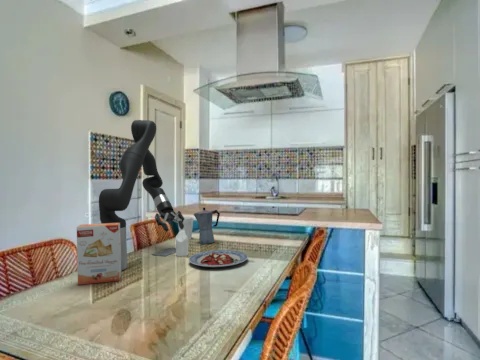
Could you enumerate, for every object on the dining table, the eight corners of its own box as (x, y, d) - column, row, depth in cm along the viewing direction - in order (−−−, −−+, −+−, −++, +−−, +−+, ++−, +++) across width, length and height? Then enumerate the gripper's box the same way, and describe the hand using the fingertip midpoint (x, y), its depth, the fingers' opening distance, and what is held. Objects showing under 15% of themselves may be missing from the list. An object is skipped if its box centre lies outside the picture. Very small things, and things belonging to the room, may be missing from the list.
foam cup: (192, 240, 178) (191, 218, 178) (176, 241, 178) (175, 218, 178) (194, 237, 188) (194, 216, 187) (180, 237, 188) (179, 216, 188)
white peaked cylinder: (174, 231, 143) (176, 229, 149) (175, 256, 143) (177, 253, 149) (187, 230, 143) (188, 228, 149) (187, 256, 143) (189, 253, 149)
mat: (165, 256, 144) (165, 255, 144) (152, 255, 147) (152, 254, 147) (182, 249, 157) (182, 249, 157) (169, 248, 160) (169, 247, 160)
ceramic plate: (176, 266, 128) (176, 259, 128) (210, 252, 151) (209, 246, 151) (229, 274, 116) (229, 267, 116) (257, 257, 139) (257, 251, 138)
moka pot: (191, 242, 174) (190, 207, 173) (217, 239, 180) (216, 205, 180) (196, 245, 165) (195, 208, 165) (223, 242, 172) (222, 207, 171)
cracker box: (77, 285, 107) (75, 226, 107) (81, 280, 113) (79, 224, 112) (120, 281, 111) (118, 224, 110) (121, 276, 116) (120, 221, 116)
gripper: (152, 201, 152) (164, 226, 144) (177, 199, 162) (190, 222, 153) (148, 211, 156) (159, 236, 148) (173, 208, 166) (184, 232, 157)
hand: (175, 229), depth 151 cm, fingers open, 8 cm apart
